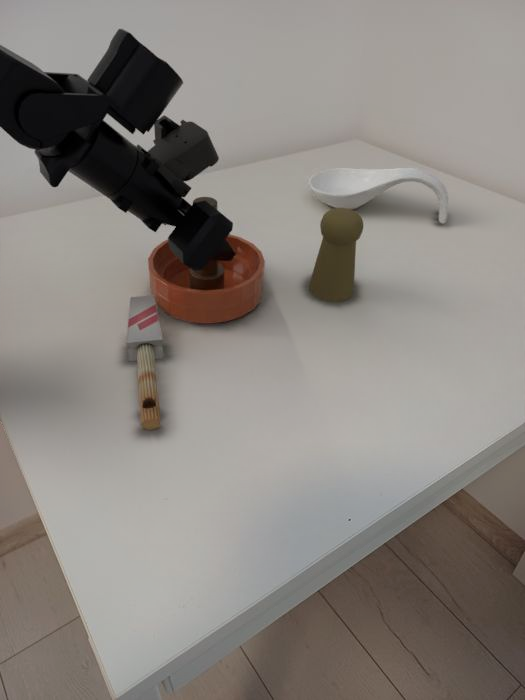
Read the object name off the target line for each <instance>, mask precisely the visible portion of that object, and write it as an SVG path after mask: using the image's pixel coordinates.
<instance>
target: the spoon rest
mask: <svg viewBox="0 0 525 700" xmlns="http://www.w3.org/2000/svg"><path fill="white" fill-rule="evenodd" d="M408 182H415V183H419V184H422V185H424V186H426V187H427V188H429V189H431V190H432V192H433V193H434V194H435V195H436V197H437V199H438V202H439V203H438V204H439V210H438V223H440V224H441V225H444V224H446V223H447V219H448V213H449V210H448V209H449V193H448V191H447V190H448V189H447V188H446V186H445V184H444V183H443V182H442V181H441V180H440V179H439V178H438V177H437V176H436V175H433V174H432V173H430V172H428V171H427V170H424V169H420V168H416V167H394V168H392V167H391V168H355V167H353V168H352V167H336V168H335V167H333V168H328V169H322V170H320V171H317V172H315V173H313V174H312V175H311V177H309V179H308V183H307V184H308V185H307V186H308V187H309V189H310V192H311V193H312V194H313V196H314V197H315V198H317V199H318V200H319V202H322V204H325V205H327V206H329V207H331V208H333V209H335V208H346V209H350V210H356V209H358V208H360V207H362V206H363V205H365V204H367V203H368V202H370V201H371V200H373V199H374V198H376V197H377V196H379V195H380V194H382V193H383V192H385V191H387V190H389V189H391V188H392V187H395V186H397V185H399V184H402V183H408Z"/></svg>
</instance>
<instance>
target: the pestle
mask: <svg viewBox="0 0 525 700" xmlns="http://www.w3.org/2000/svg"><path fill="white" fill-rule="evenodd" d="M204 200H206V201H207V202H208V203H209V204H211V205H212V206H213V207H214V208H215V209H217V210H218V200H217V199H215V198H214V197H210V196H200V197H196V198H194V199H193V200H192V204H193V203H195V202H200V201H204ZM189 277H190V289H197V290H217V289H224V267H223V266H222V265H221V264H220V263H218V261H208V262H207V263H206V265H205V266H204V267H203V269H202V270H199V271H194V270H192V269H191V268H189Z"/></svg>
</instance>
